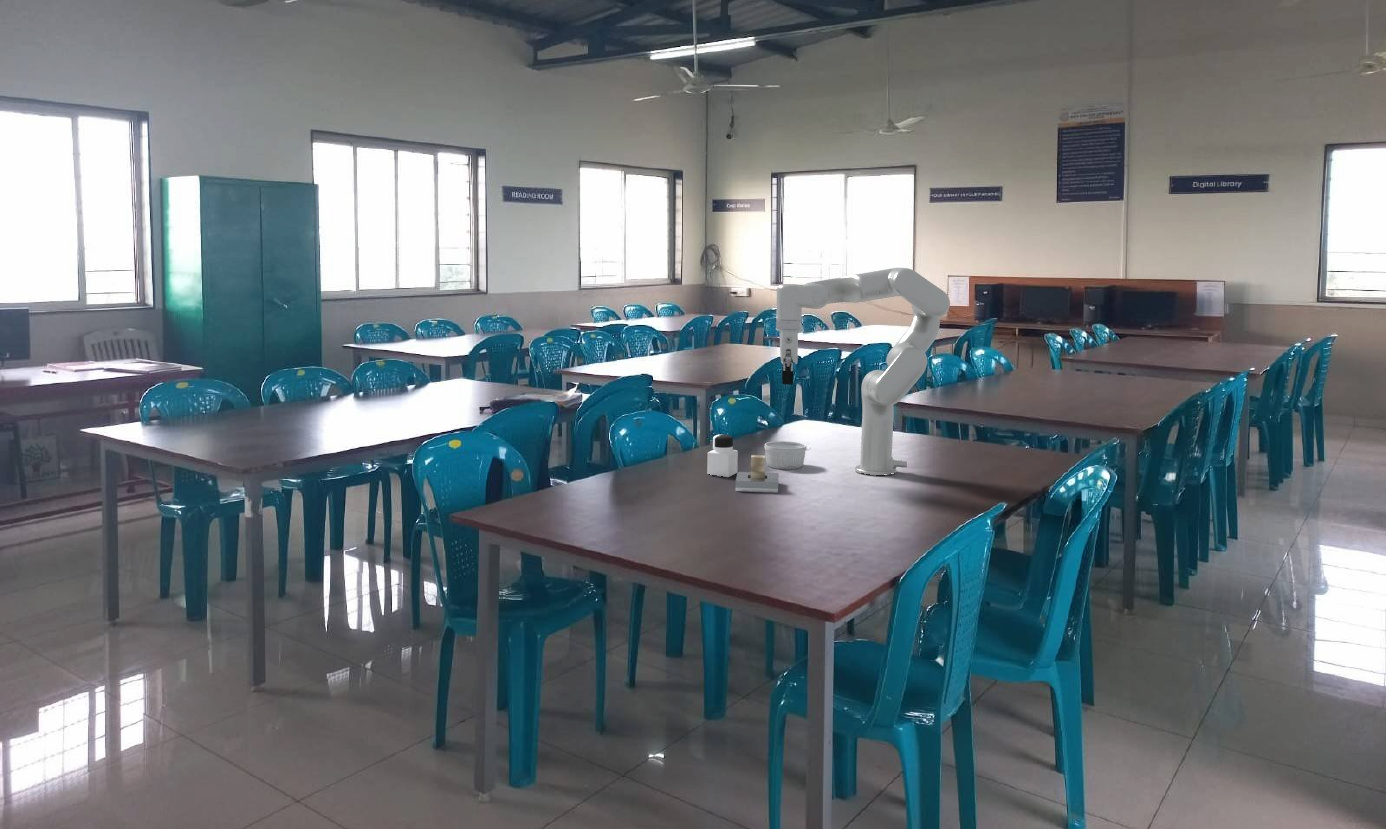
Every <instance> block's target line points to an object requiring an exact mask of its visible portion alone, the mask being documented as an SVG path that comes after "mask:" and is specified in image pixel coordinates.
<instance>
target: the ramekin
mask: <svg viewBox="0 0 1386 829" xmlns="http://www.w3.org/2000/svg"><path fill="white" fill-rule="evenodd" d="M763 448H764V449H765V450H764V451H765V463H766V464H767V466H768V467H770V468H771V469H772V468H773V469H777V470H796V469H800V468H802V466H804V462H805V457H806V451H807V444H805V443H801V442H798V441H789V440H787V441H786V440H785V441H784V440H777V441H776V440H775V441H768V442H766V443H764V447H763Z"/></svg>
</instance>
